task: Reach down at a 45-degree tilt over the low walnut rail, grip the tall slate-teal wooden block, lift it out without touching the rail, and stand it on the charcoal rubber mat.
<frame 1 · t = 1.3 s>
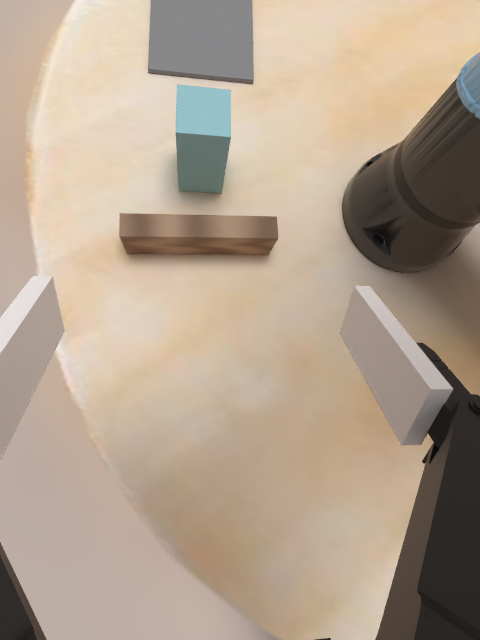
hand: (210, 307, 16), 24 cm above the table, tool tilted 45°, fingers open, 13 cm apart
block: (200, 172, 43), on the table
rail: (199, 244, 42), on the table
mat: (202, 18, 47), on the table
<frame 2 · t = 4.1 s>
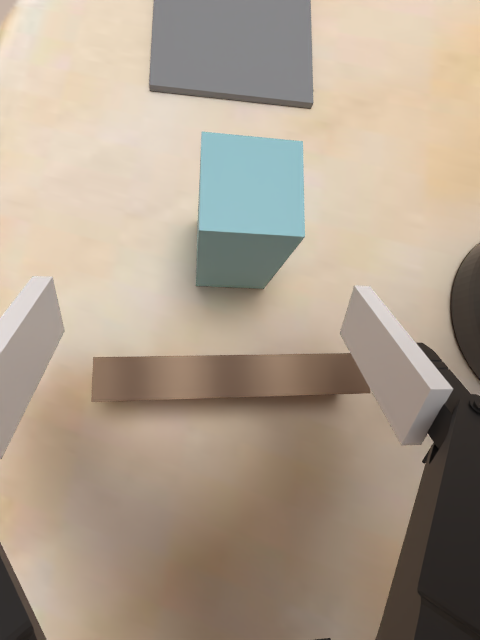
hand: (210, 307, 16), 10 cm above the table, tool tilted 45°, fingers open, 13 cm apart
block: (230, 254, 27), on the table
rail: (228, 377, 26), on the table
mat: (234, 5, 31), on the table
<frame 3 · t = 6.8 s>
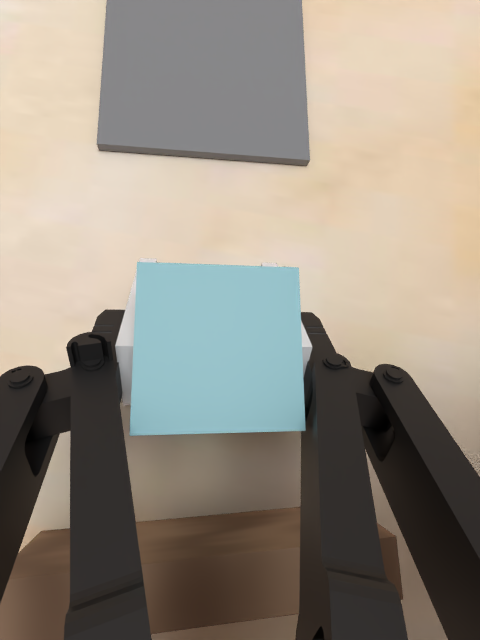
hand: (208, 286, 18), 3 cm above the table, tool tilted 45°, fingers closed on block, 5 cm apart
block: (205, 365, 21), on the table, touching gripper
rail: (204, 539, 19), on the table
mat: (207, 38, 25), on the table
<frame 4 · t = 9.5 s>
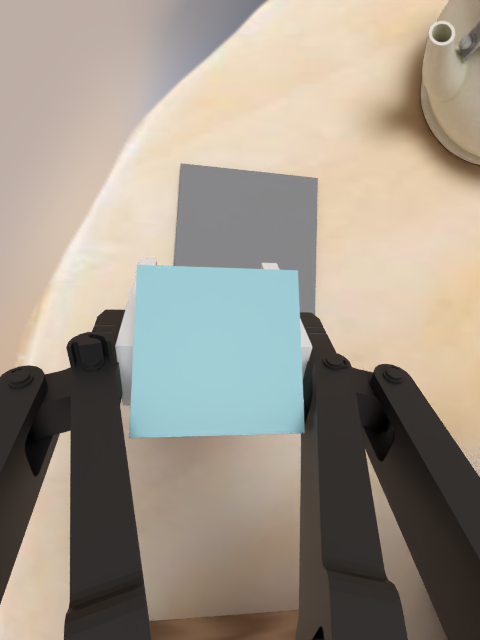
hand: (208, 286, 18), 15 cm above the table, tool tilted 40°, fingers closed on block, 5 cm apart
kettle: (465, 109, 39), on the table
block: (205, 367, 21), point 12 cm above the table, touching gripper
rail: (229, 629, 30), on the table
mat: (245, 266, 34), on the table
when the fingers open (5 cm above the table, at t = 12.5 s): block stays where it is, resting on mat.
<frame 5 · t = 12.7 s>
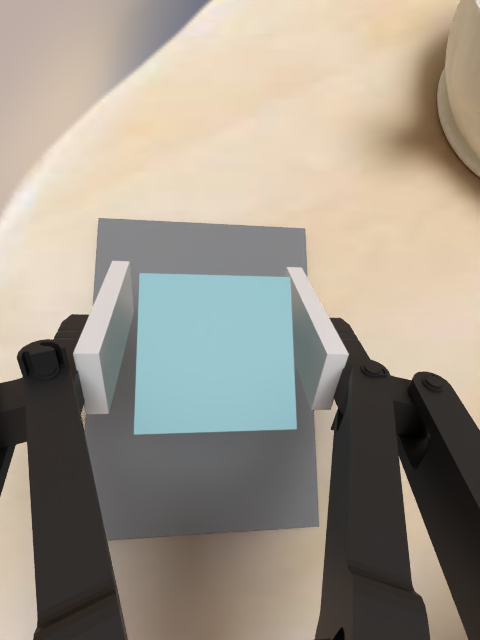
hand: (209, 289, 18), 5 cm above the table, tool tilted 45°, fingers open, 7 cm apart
block: (204, 367, 21), point 1 cm above the table, touching mat
mat: (204, 367, 22), on the table
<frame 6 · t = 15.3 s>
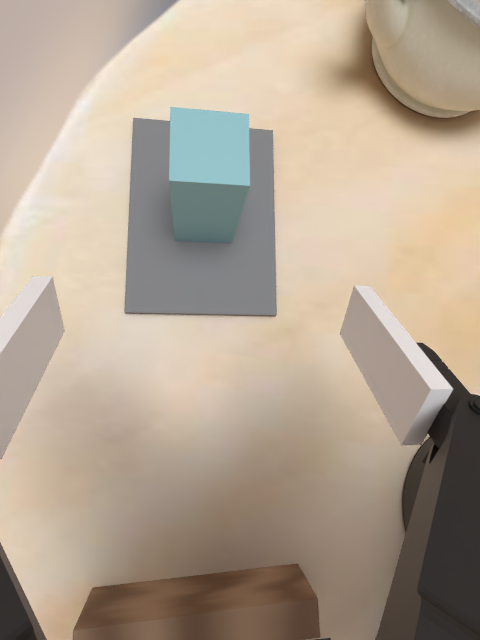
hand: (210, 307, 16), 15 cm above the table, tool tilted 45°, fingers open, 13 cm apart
kettle: (417, 65, 40), on the table
block: (203, 215, 33), point 1 cm above the table, touching mat
rail: (199, 590, 29), on the table
mat: (203, 217, 33), on the table
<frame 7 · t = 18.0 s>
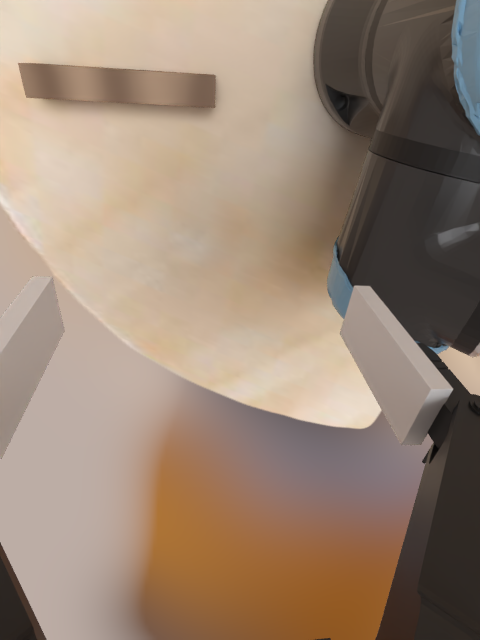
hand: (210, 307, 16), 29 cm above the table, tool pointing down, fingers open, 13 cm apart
rail: (130, 84, 35), on the table
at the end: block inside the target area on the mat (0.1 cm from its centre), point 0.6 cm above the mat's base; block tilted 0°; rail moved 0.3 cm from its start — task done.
